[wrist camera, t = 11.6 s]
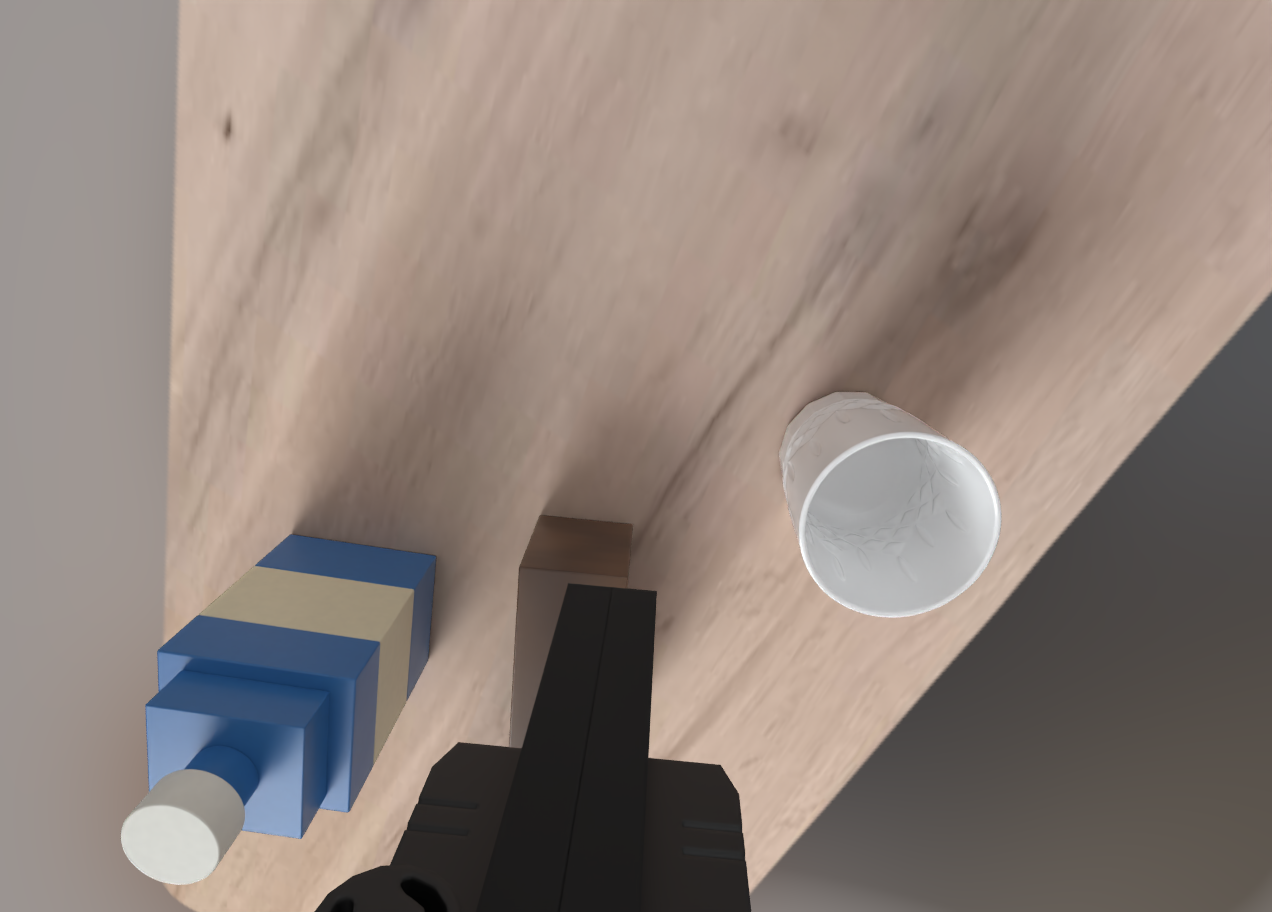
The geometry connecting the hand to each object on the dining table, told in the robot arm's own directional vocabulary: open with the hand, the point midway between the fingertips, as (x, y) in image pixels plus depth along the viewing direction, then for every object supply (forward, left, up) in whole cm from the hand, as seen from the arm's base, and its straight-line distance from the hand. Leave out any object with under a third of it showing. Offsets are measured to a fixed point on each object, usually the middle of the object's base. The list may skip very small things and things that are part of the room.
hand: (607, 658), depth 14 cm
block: (+2, +15, -27) cm, 31 cm away
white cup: (-11, +4, -28) cm, 30 cm away
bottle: (+9, +15, -26) cm, 31 cm away
